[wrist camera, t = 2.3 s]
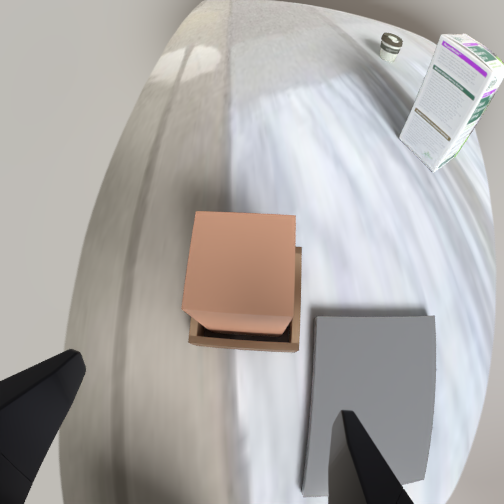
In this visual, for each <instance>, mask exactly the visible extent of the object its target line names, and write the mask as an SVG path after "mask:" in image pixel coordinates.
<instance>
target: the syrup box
mask: <svg viewBox="0 0 504 504" xmlns="http://www.w3.org/2000/svg"><path fill="white" fill-rule="evenodd" d="M503 78H504V62H503V61H501V60H500V59H499V58H498V57H497V56H496V55H495V54H494V53H492V52H491V51H490V50H489V49H488V48H486V47H485V46H484V45H482V44H481V43H479V42H478V41H476V40H474V39H473V38H471V37H469V36H468V35H466V34H465V33H464V34H461V35H457V34H441V36H440V39H439V42H438V44H437V47H436V50H435V52H434V55H433V58H432V60H431V63H430V66H429V68H428V71H427V73H426V76H425V78H424V80H423V83H422V85H421V88H420V90H419V92H418V95H417V97H416V100H415V102H414V104H413V107H412V109H411V112H410V114H409V116H408V118H407V120H406V122H405V125H404V127H403V129H402V131H401V133H400V136H399V138H400V140H401V141H402V142H403V143H404V144H405V145H406V146H407V147H408V148H409V149H410V150H411V151H412V152H413V153H414V154H415V155H416V156H417V157H418V158H419V159H420V160H421V161H422V162H423V163H424V164H425V165H426V166H427V167H428V168H429V169H430V170H431V171H432V172H435V171H436V170H438V169H439V168H441V167H442V166H444V165H445V164H446V163H448V162H449V161H450V160H451V159H453V158H454V157H455V156H456V155H457V153H458V152H459V151H460V149H461V148H462V146H463V145H464V143H465V142H466V140H467V139H468V137H469V136H470V134H471V132H472V131H473V129H474V128H475V126H476V125H477V123H478V121H479V120H480V118H481V117H482V115H483V113H484V111H485V110H486V108H487V107H488V105H489V103H490V102H491V100H492V98H493V96H494V95H495V93H496V91H497V89H498V87H499V86H500V84H501V82H502V80H503Z"/></svg>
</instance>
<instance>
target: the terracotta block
mask: <svg viewBox="0 0 504 504" xmlns="http://www.w3.org/2000/svg"><path fill="white" fill-rule="evenodd" d="M295 231H296V216H295V215H277V214H258V213H236V212H208V211H196V214H195V220H194V226H193V232H192V238H191V245H190V251H189V257H188V264H187V271H186V278H185V285H184V293H183V300H182V308H181V309H182V310H183V311H185V312H186V313H187V314H189V315H190V316H191V317H192V318H194V319H195V320H196V321H198V322H199V323H200V324H202V325H203V326H204V327H205V328H207V329H208V330H209V331H211V332H212V333H223V334H236V335H250V336H267V337H281V335H282V334H283V332H284V331H285V329H286V328H287V326H288V325H289V323H290V321H291V320H292V318H293V317H294V287H295Z"/></svg>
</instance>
